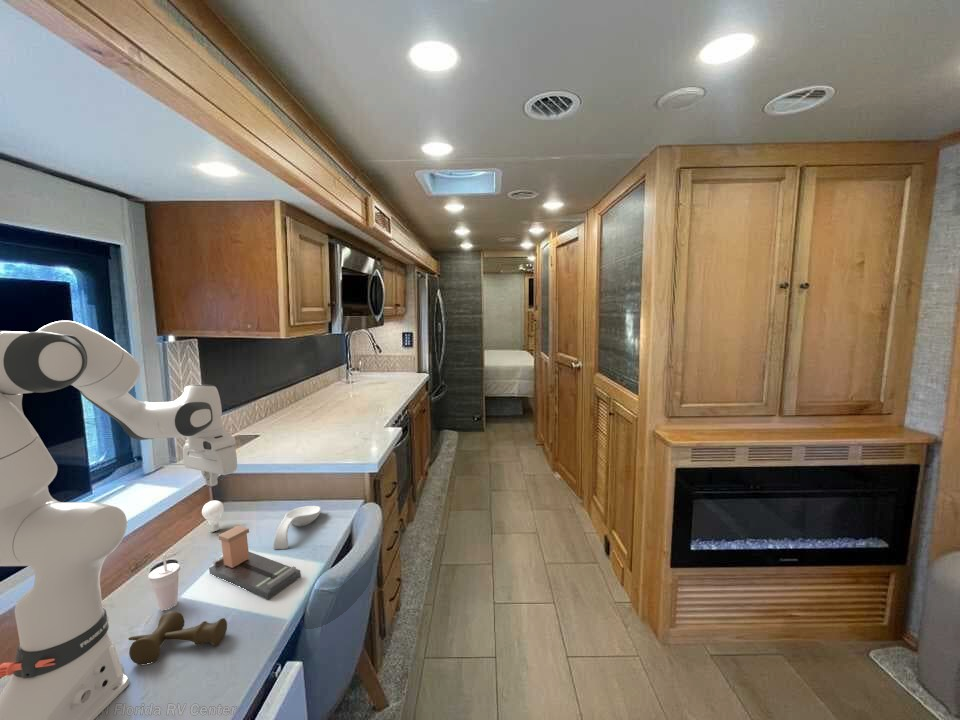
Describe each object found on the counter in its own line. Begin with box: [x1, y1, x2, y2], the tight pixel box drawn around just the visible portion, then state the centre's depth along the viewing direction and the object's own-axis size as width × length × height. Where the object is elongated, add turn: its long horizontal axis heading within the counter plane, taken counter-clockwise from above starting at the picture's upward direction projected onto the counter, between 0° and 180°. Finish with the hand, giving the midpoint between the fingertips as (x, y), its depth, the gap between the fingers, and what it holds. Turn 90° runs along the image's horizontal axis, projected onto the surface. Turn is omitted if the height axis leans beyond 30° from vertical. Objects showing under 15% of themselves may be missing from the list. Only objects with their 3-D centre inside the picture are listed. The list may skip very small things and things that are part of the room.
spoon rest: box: [272, 505, 322, 550], centre depth 136 cm, size 24×12×7 cm, turn 2°
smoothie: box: [148, 553, 181, 611], centre depth 101 cm, size 6×6×14 cm
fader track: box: [208, 551, 302, 601], centre depth 112 cm, size 26×10×4 cm, turn 64°
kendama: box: [128, 610, 228, 665], centre depth 88 cm, size 6×10×20 cm
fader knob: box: [217, 525, 250, 568], centre depth 115 cm, size 5×6×9 cm
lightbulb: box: [201, 499, 225, 533], centre depth 137 cm, size 6×6×11 cm
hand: (211, 484), depth 115 cm, fingers closed
